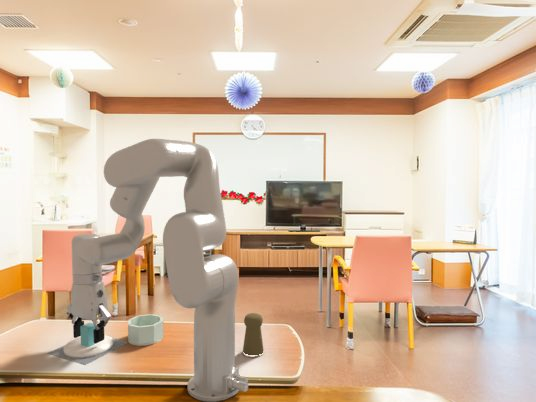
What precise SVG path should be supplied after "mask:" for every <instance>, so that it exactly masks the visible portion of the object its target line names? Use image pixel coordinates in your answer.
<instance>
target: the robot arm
mask: <svg viewBox="0 0 536 402" xmlns="http://www.w3.org/2000/svg"><path fill="white" fill-rule="evenodd" d="M218 166H219V165H218V161H217V160H216V157H215V156H214V154H213V152H212V151H211V150H210V149H209V148H207V147H206V146H204V145H201V144H198V143H194V142H191V141H182V140H173V139H164V138H148V139H145V140H142V141H139V142H137V143H134V144H132V145H129V146H126V147H125V148H122V149H119V150H117V151H115V152H114V153H112V154H111V155H109V157H108V158H107V159H106V161H105V164H104V167H103V177H104V180H105V182H106V183H107V184H109V186H111V187H114V188H115V189H114V192H113V194H112V196H111V198H110V199H109V205H110V208H111V210H112V211H113V212H114V213H116V214H117V215H118V216H120V217H122V218H124V219H125V222H124V225H123V226H122V228H121V230H120V232H119V233H114V234H108V235H104V236H103V235H102V236H100V235H99V234H98V233H97V234H96V233H82V234H76V235H74V236H72V239H71V267H72V268H71V269H72V273H71V274H72V283H71V290H70V304H69V305H68V306H67V307H66V310H67V312H68V314H69V317H70V319H71V324H72V327H73V329H72V330H73V338H74V339H77V338H80V337H81V330H80V326H82V325H85V321H84V320H89V321H91V323H93V324H94V327H95V329H94V330H93V333H94V343H98V342H100V341H102V340H104V335H105V327H106V326H107V324H108V323H109V321H110V319H111V317H112V315H111V314H110V313H109V310H108V309H109V308H108V297H107V289H106V287H105V283H104V282H103V273H102V272H103V271H102V269H103V267H102V266H103V265H108V264H112V263H115V262H119V261H123V260H127V259H129V258H131V257H132V256H133V255H134V254H135V253H136V251H137V249H138V247H140V244H141V242H142V241H143V239H144V236H145V219H144V216H143V212H144V210H145V208H146V206H147V203H148V201H149V200H150V198H151V196H152V194H153V192H154V190H155V188H156V185H157V183H158V182H159V180H160V178H163V177H164V178H167V177H169V178H170V177H171V178H172V177H185V178H186V180H185V184H184V188H183V200H184V208H185V211H184V212H179V213H177V214H174V215H173V216H171V217H170V218H169V219H168V221H167V222H166V223H165V226H164V229H163V233H162V234H163V235H162V245H163V246H162V247H163V252H164V253H163V254H164V258H165V259H164V260H165V265H166V271H167V272H166V273H167V278H168V285H169V289H170V292H171V295H172V297H173V299H174V300H175V303H177V304H178V305H180V307H183V308H186V309H194V313H193V376H192V377H190V378H189V380H188V382H187V392H188V395H190V396H191V397H192V398H194V399H196V400H199V401H201V402H202V401H203V402H220V401H226V400H228V399H231V398H233V397H234V396H235V395H236V394H238V393H239V391H242V392H244V393H245V392H248V389H249V383H248V382H249V377H246V376H241V375H240V374H239V373H240V368H239V367H237V366H236V365H235V363H236V362H235V360H236V359H235V357H236V354H235V350H236V346H235V343H236V334H235V333H236V331H235V329H236V327H235V326H236V300H237V295H238V294H237V293H238V288H239V280H240V278H239V277H240V275H239V269H238V266H237V264H236V263H235V261H234V260H233V259H232V257H229V256H228V255H225V254H221V253H220V254H219V253H217V254H215V253H214V254H210V255H208V256H204V252H208V251H212V250H214V249H217V248H218V247H220V246H222V245H223V244H224V242H225V240H226V238H227V226H226V219H225V212H224V207H223V199H222V195H221V188H220V187H221V186H220V177H219V175H220V174H219V167H218ZM83 319H84V320H83ZM98 320H99V322H98Z"/></svg>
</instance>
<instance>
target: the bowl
mask: <svg viewBox="0 0 536 402" xmlns="http://www.w3.org/2000/svg"><path fill="white" fill-rule="evenodd" d="M127 334H128V335H127V339H128V340H127V342H129V343H128V344H130V345H133V346H139V347H140V346H142V347H144V346H151V345H154V344H156V343H159V342H160V341H162V339H163V338H164V337H165V336H164V318H163V316H162V315H158V314H153V313H149V314H139V315H136V316H134V317H131V318H130V319H127Z"/></svg>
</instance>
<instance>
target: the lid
mask: <svg viewBox="0 0 536 402" xmlns="http://www.w3.org/2000/svg"><path fill="white" fill-rule="evenodd" d="M94 329H95V327H94V324H93V322H88V323H86V324H85V323H84V325H82V326H80V330H81V336H79V337H77V338H74V339H73V340H72V339H71V340H70V341H69V342H67V343H66V344H64V345H65V346H64V345H63V346H64V354H65V355H66V356H67V357H71V358H88V357H93V356H97V355H100V354H103V353H105V352H107V351H108V350H110V349H111V348H112V347H113V345H114V340H113V337H111V336H109V335H106V334H104V340H102V341H100V342H98V343H94V333H93V330H94Z"/></svg>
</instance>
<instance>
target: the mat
mask: <svg viewBox="0 0 536 402" xmlns="http://www.w3.org/2000/svg"><path fill="white" fill-rule="evenodd" d="M112 338H113V337H112ZM113 340H114V345H113V347H112V348H111V349H110V350H108V351H107V352H105V353H103V354H100V355H97V356H93V357H88V358H71V357H67V356H66V355H65V354H64V346H65V345H66V344H64V345H62V346H60V347H58V348H55V349H52V350H51V351H49V352H47V354H49V355H51V356H55V357H58V358H62V359H65V360H68V361H71V362H74V363H78V364H82V365H84V366H87V365H89V364H91V363H92V362H94V361H96V360H98V359H100V358H103V357H104V356H105V355H108V354H109V353H111V352H113V351H115V350H117V349H119V348H121V347H123V346H125V345H127V344H130V343H129V342H128V341H125V340H121V339H117V338H113ZM86 364H87V365H86Z"/></svg>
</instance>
